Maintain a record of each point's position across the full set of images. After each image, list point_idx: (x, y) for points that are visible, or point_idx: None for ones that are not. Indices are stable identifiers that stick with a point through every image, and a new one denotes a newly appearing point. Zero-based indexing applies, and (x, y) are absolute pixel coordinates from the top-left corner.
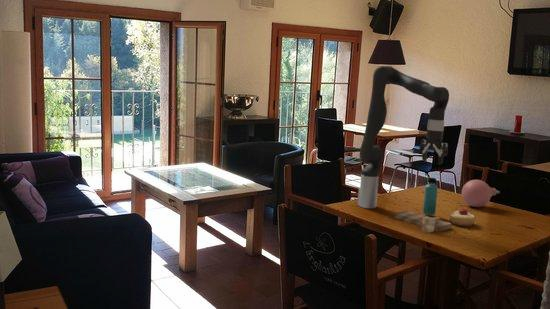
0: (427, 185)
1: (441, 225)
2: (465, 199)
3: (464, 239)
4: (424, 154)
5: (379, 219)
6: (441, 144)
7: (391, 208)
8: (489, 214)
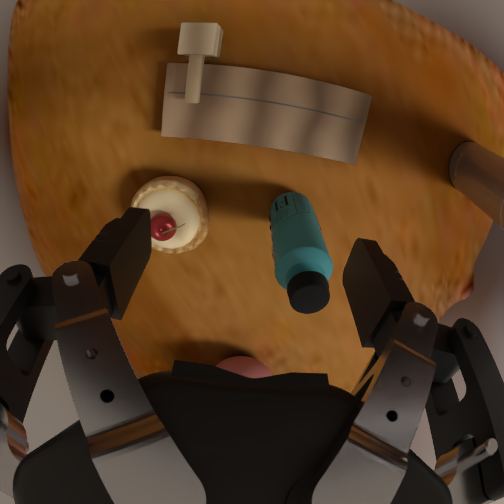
0: (318, 258)
1: (170, 81)
2: (255, 363)
3: (91, 70)
4: (388, 294)
5: (390, 43)
6: (14, 470)
7: (412, 198)
8: (186, 334)
